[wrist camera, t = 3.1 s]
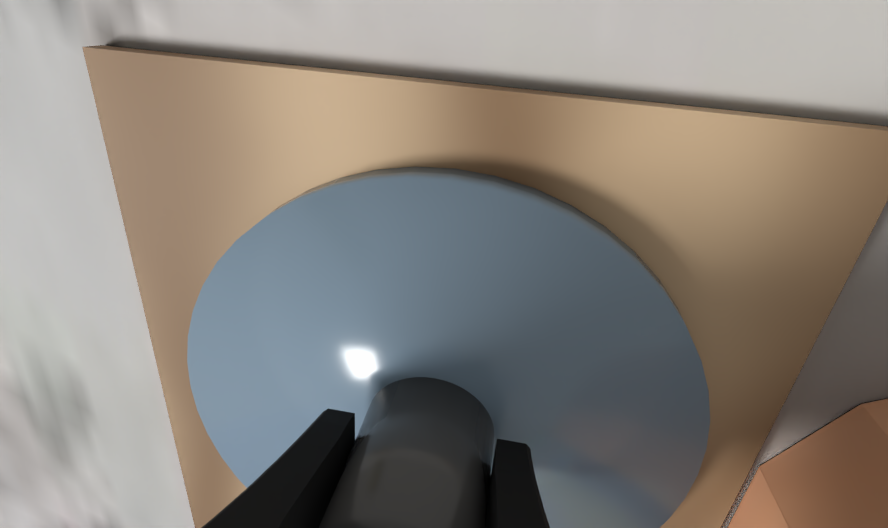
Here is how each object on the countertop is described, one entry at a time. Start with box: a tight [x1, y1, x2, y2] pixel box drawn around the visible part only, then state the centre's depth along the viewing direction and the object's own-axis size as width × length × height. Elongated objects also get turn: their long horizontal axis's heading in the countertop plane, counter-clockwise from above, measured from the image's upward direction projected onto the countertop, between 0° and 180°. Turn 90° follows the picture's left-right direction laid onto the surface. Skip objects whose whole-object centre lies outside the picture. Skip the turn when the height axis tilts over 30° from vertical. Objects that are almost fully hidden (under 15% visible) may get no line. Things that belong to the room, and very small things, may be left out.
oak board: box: [83, 45, 888, 528], centre depth 13 cm, size 15×15×1 cm
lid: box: [187, 166, 710, 528], centre depth 11 cm, size 12×12×4 cm
